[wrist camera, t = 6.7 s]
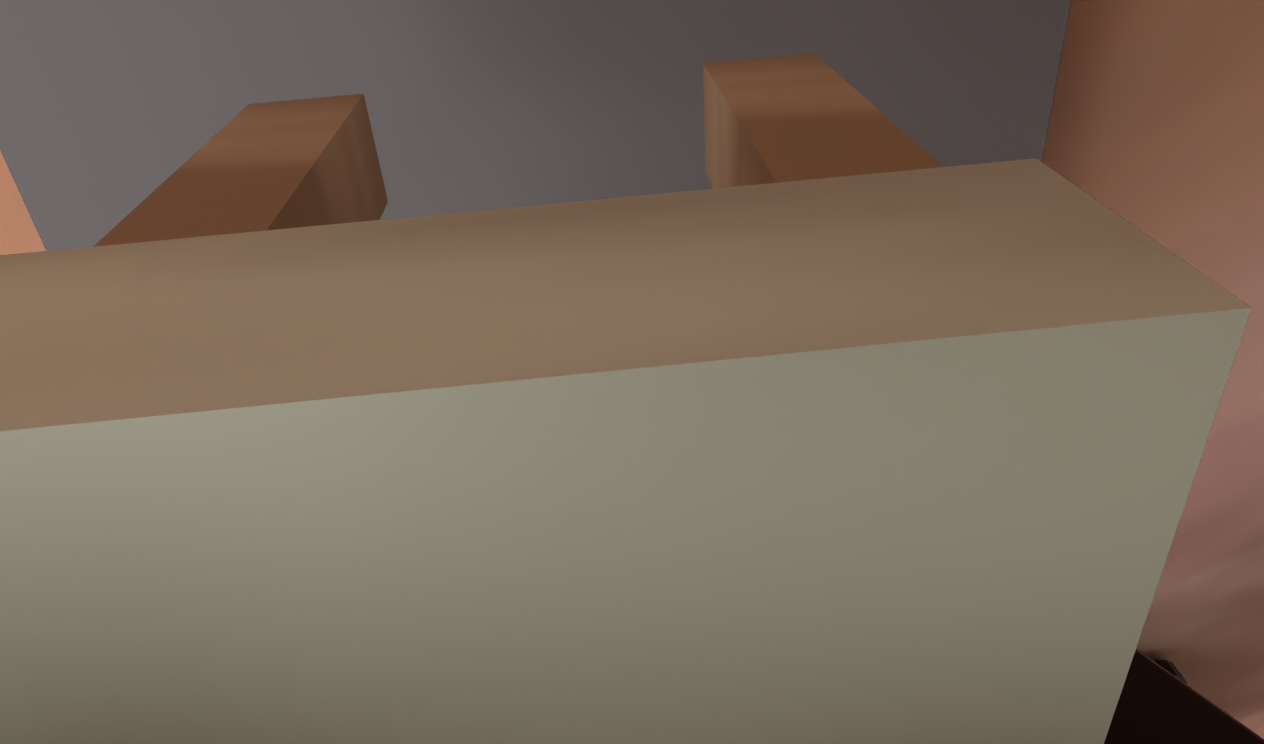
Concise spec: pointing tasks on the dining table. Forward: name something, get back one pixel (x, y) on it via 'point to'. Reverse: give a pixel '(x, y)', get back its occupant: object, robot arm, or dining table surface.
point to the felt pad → (486, 89)
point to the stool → (597, 447)
